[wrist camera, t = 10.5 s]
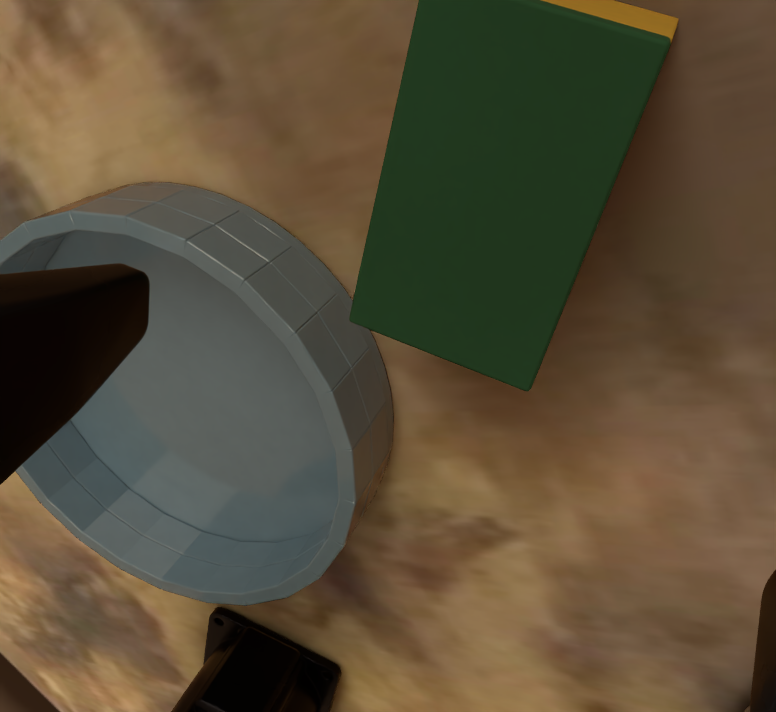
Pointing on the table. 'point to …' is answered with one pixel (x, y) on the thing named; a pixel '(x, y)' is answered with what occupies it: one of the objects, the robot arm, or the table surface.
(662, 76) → the table surface
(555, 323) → the sponge
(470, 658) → the table surface
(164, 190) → the bowl
